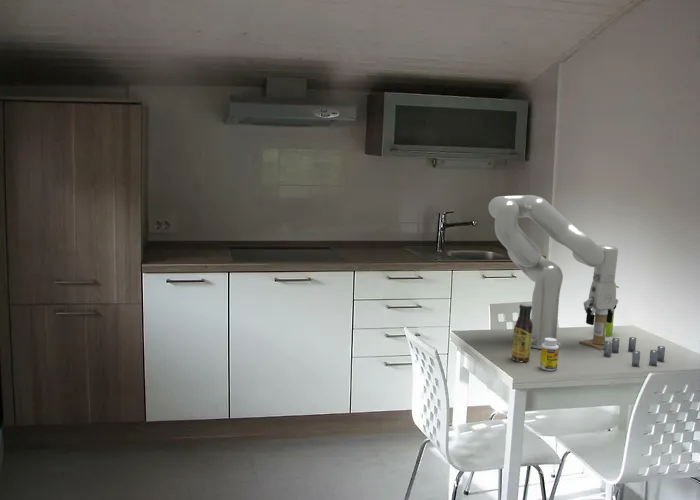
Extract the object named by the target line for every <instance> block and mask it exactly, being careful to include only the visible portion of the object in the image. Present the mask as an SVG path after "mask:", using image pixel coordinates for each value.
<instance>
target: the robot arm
mask: <svg viewBox="0 0 700 500" xmlns="http://www.w3.org/2000/svg"><path fill="white" fill-rule="evenodd" d="M488 212H489V215H490V216H491V217H492V218H494V232H495V233H494V234H495V236H496V238H497V239H498V241H499V243H500V244H501V245H502V246H503V247H504V248H505V249H506V251H507V254H508V257H509V259H510V260H511V261H512V263H514V264H515V266H516V267H518V268H519V270H520V271H522V273H523V274H524V275H525V276H526V277H528V279H529V280H531V281H532V282H534V283H535V284H534V288H533V291H532V299H531V305H532V309H531V314H530V316H531V317H530V319H531V321H532V323H533V329H532V342H531V348H534V349H537V350H538V349H539V350H541V346H542V344H543V343H544V339H545V338H555V339H557V335H558V334H557V331H558V319H559V304H560V293H561V289H562V284H563V280H564V279H563V277H564V276H563V275H564V274H563V271H562V269H561V268H560V266H559V265H558V264H556V263H555V262H553V261H550V260H549V259H547V258H546V257H544V256H543V254H542V252H541V248H539V246H538V245H537V244H536V243H535V242H533V240H531V239H530V238H529V236H528V235H527V234H526V233H524V231H523V230H522V228H520V226H519V223H518V220H519V218H520V219H523V218H529V219H530V220H532V222H534V223H535V224H536V226H538V227H539V228H540V229H541V230H542V231H543V232H544V233H545V234H547V235H548V236H549V237H550V238H551V239H552V240H554V241H556V242H557V243H558V244H560V245H562V246H564V247H566V248H568V249H569V250H570V251H571V252H572V256H573V258H574V259H575V261H577V262H578V263H581V264H583V265H586V266H588V267H590V268H593V276H592V282H591V285H590V289H589V293H588V299H587V300H586V301H584V302H583V308H584V311H585V314H586V317H585V319H586V320H585V323H586V324H587V325H590V326H594V320H595V311H596V310H605V309H608V314H607V321H606V322H608V323H612V316H613V312H614V313H615V309H616V308H617V306H618V303H619V299H617V288H616V286H617V285H616V282H615V281H616V280H615V279H616V271H617V263H618V257H619V256H618V255H619V254H618V253H619V249H618V247H617V246H615V245H610V244H597V243H595V241H593V240H592V239H591V238H590V237H589V236H588V235H587V234H585V233H584V232H583V231H582V230H580V229H579V228H578V227H577V226H576V225H575V224H573V223H572V222H571V221H569V220H568V219H567V218H566V217H565V216H564V215H562V214H561V213H560V212H559V211H558V210H557V209H556V208H555V207H554V206H553V205H551V203H550V202H548V200H546V199H545V198H543V197H541V196H538V195H534V194H526V195H525V194H524V195H523V194H522V195H499V196H496V197H495V196H494V198H492V199H491V200H490V202H489V203H488ZM557 345H558V346H559V348H560V347H561V343H560V341H558V340H557Z"/></svg>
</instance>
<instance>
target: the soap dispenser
mask: <svg viewBox="0 0 700 500" xmlns="http://www.w3.org/2000/svg"><path fill="white" fill-rule="evenodd" d="M619 288H620V287H619V286H618V285H616V289H619ZM614 315H615V311H614V312H613V316H612V323H608V322H606V335H605V337H613V328H614V317H615V316H614Z"/></svg>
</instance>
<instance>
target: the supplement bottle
mask: <svg viewBox="0 0 700 500" xmlns="http://www.w3.org/2000/svg"><path fill="white" fill-rule="evenodd" d="M557 341H558V340H557V338H556V339H555V338H545V339H544V343H543V344H542V346H541V349H540V358H539V359H540V360H539V368H540V369H541V370H544V371H548V372H549V371H551V372H553V370H554V371H556V370H557V369H558V360H559V359H558V358H559V348H560V347H559V346H558V345H557Z"/></svg>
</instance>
